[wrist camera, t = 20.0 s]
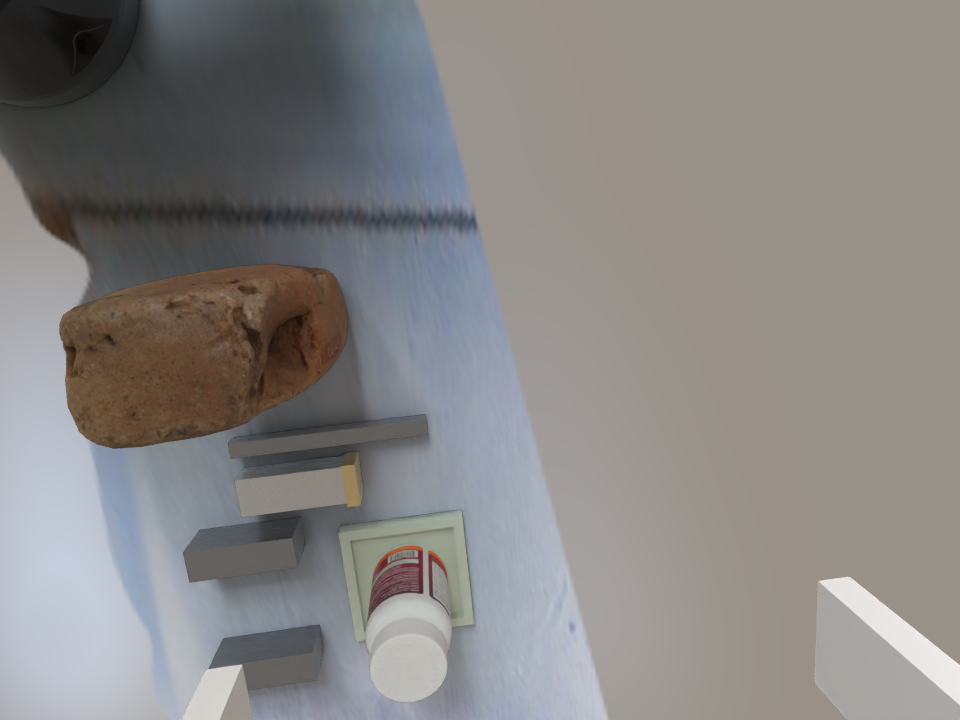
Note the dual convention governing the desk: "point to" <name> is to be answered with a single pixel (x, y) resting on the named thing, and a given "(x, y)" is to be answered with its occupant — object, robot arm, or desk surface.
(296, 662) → the socket
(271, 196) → the desk surface
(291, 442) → the rail
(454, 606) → the tray
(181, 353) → the block
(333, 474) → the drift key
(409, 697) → the pill bottle
